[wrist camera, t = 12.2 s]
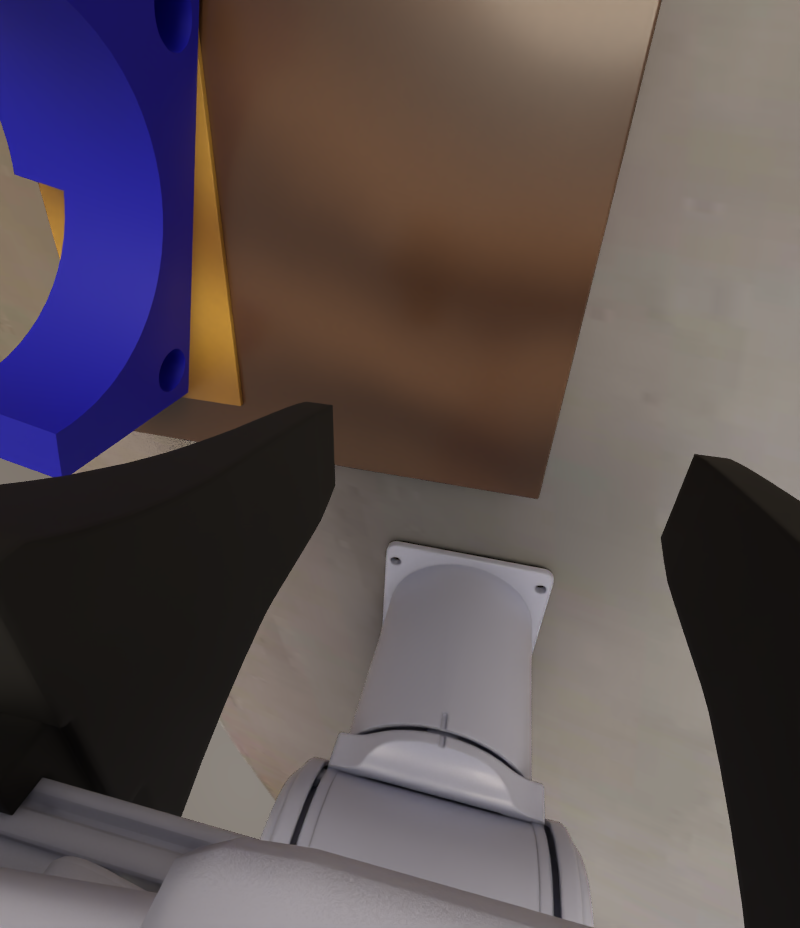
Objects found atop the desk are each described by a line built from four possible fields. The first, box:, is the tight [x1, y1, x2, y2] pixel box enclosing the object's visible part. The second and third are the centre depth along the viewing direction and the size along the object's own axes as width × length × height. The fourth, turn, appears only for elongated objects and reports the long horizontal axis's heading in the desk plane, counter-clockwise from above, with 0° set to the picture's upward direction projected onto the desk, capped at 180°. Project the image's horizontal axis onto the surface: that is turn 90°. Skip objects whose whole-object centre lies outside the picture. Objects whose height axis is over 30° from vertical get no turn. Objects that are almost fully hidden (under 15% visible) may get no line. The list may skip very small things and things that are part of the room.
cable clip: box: [0, 0, 199, 477], centre depth 13 cm, size 12×4×6 cm, turn 165°
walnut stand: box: [38, 0, 662, 499], centre depth 17 cm, size 15×17×4 cm
